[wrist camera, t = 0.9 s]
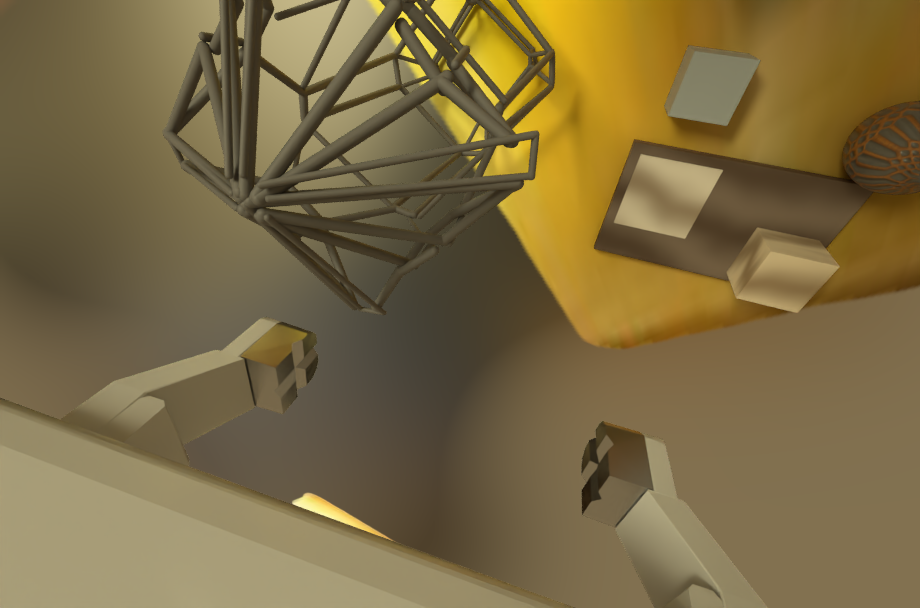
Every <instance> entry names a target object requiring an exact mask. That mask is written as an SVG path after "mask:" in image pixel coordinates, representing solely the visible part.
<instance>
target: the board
mask: <svg viewBox="0 0 920 608" xmlns="http://www.w3.org/2000/svg"><path fill="white" fill-rule="evenodd" d="M872 193H873V191H870V190H867V189H865V188H863V187H861V186H860V185H858V184H857V183H855V182H854V181H852V180H847V179H842V178H837V177H831V176H826V175H821V174H815V173H810V172H805V171H799V170H794V169H789V168H783V167H778V166H773V165H768V164H762V163H757V162H752V161H746V160H741V159H736V158H730V157H725V156H720V155H714V154H709V153H704V152H699V151H693V150H688V149H683V148H677V147H672V146H667V145H661V144H656V143H651V142H645V141H640V140H635V139H634V142H633V145H632V147H631V150H630V153H629V155H628V158H627V161H626V163H625V166H624V168H623V171H622V174H621V176H620V179H619V182H618V184H617V187H616V190H615V192H614V195H613V197H612V200H611V203H610V205H609V208H608V211H607V213H606V216H605V218H604V221H603V224H602V226H601V229H600V232H599V234H598V237H597V240H596V242H595V245H594V249H598V250H602V251H606V252H610V253H614V254H619V255H623V256H627V257H631V258H635V259H640V260H644V261H648V262H652V263H656V264H661V265H665V266H669V267H673V268H677V269H682V270H686V271H690V272H694V273H698V274H703V275H707V276H711V277H715V278H719V279H724V280H728V281H730V280H729V278H728V275H727V271H728V269H729V268H730V266H731V265H732V264H733V262H734V261H735V259H736V258H737V256H738V255H739V253H740V252H741V250H742V249H743V247H744V246H745V245H746V243H747V242H748V240H749V239H750V237H751V236H752V234H753V233H754V231H755V230H756V228H757V227H758V228H763V229H767V230H772V231H777V232H781V233H786V234H791V235H796V236H800V237H805V238H810V239H814V240H819V241H820V242H821V243H822V244H823V246H824V247H825V248H826V247H827V246H828V245H829V244H830V243H831V241H832V240H833V239H834V238H835V237H836V236H837V234H838V233H839V232H840V231H841V230H842V228H843V227H844V226H845V225H846V224H847V223H848V221H849V220H850V219H851V218H852V217H853V216H854V214H855V213H856V212H857V211H858V210H859V209H860V207H861V206H862V205H863V204H864V203H865V201H866V200H867V199H868V198H869V197H870V196H871V194H872Z"/></svg>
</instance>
